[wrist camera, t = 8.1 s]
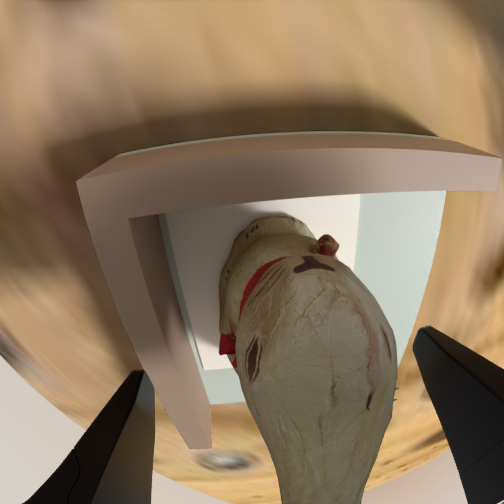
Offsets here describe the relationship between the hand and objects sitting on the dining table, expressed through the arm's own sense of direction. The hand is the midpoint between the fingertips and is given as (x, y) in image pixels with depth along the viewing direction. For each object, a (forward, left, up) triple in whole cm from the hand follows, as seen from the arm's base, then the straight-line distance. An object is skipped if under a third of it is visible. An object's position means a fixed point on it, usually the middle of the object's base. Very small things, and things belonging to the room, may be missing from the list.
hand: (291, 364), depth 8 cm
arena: (-1, +1, -5) cm, 5 cm away
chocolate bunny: (0, 0, -4) cm, 4 cm away
